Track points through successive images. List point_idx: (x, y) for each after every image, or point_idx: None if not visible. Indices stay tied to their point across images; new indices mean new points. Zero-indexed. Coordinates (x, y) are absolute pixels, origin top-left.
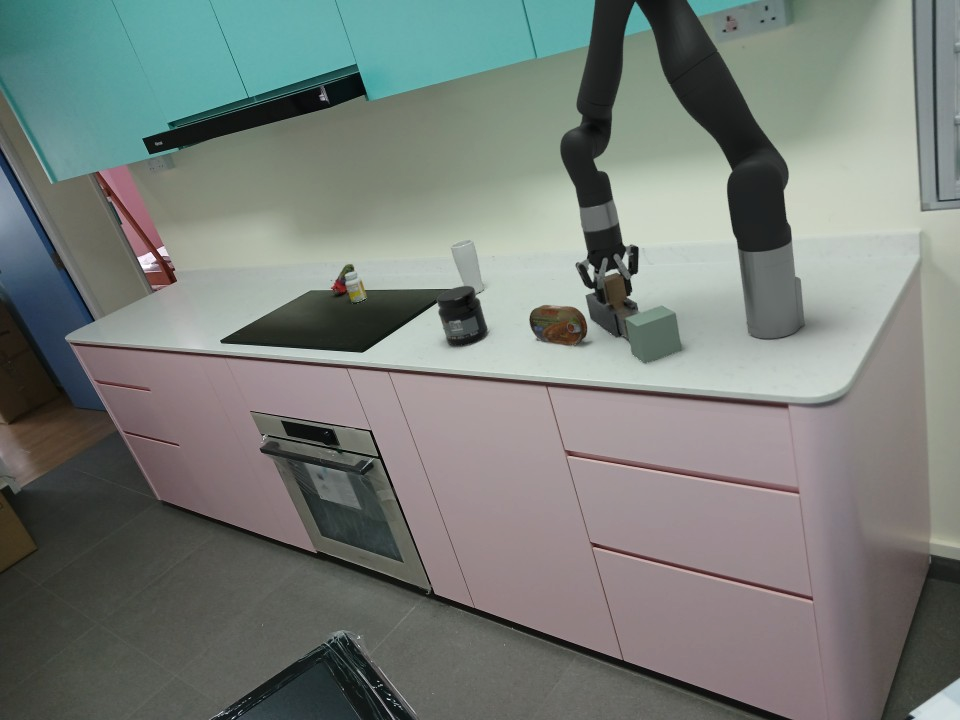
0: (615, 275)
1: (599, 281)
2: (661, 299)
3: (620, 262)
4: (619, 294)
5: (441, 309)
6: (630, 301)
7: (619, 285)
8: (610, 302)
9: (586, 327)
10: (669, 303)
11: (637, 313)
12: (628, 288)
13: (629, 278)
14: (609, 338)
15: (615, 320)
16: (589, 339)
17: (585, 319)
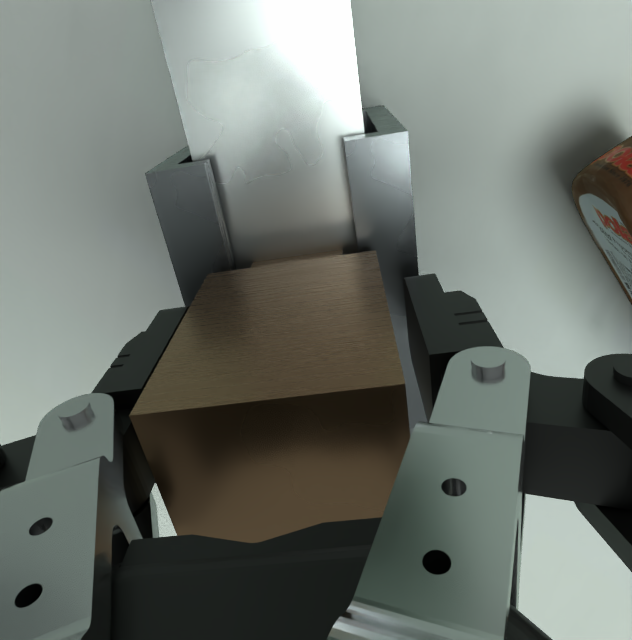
0: (219, 492)
1: (495, 412)
2: None
3: (10, 608)
4: (262, 292)
5: None
6: (191, 256)
7: (227, 341)
8: (369, 260)
9: (603, 165)
10: (4, 374)
11: (183, 5)
12: (151, 338)
13: (78, 400)
14: (421, 130)
15: (373, 124)
16: (527, 204)
17: (618, 202)
